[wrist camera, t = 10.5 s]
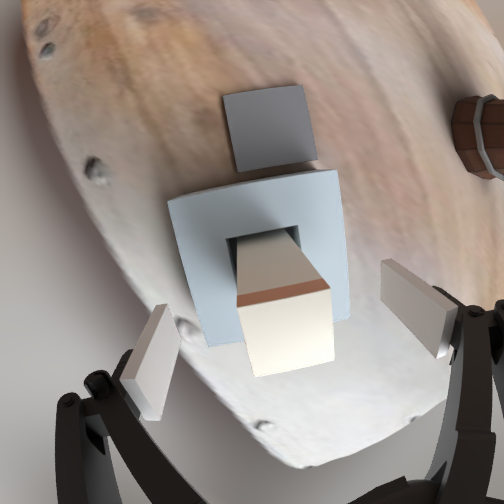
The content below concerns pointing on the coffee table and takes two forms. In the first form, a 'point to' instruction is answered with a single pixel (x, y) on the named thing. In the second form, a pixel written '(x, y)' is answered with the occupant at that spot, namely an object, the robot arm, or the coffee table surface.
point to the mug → (480, 135)
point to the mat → (270, 127)
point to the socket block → (255, 221)
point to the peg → (282, 304)
